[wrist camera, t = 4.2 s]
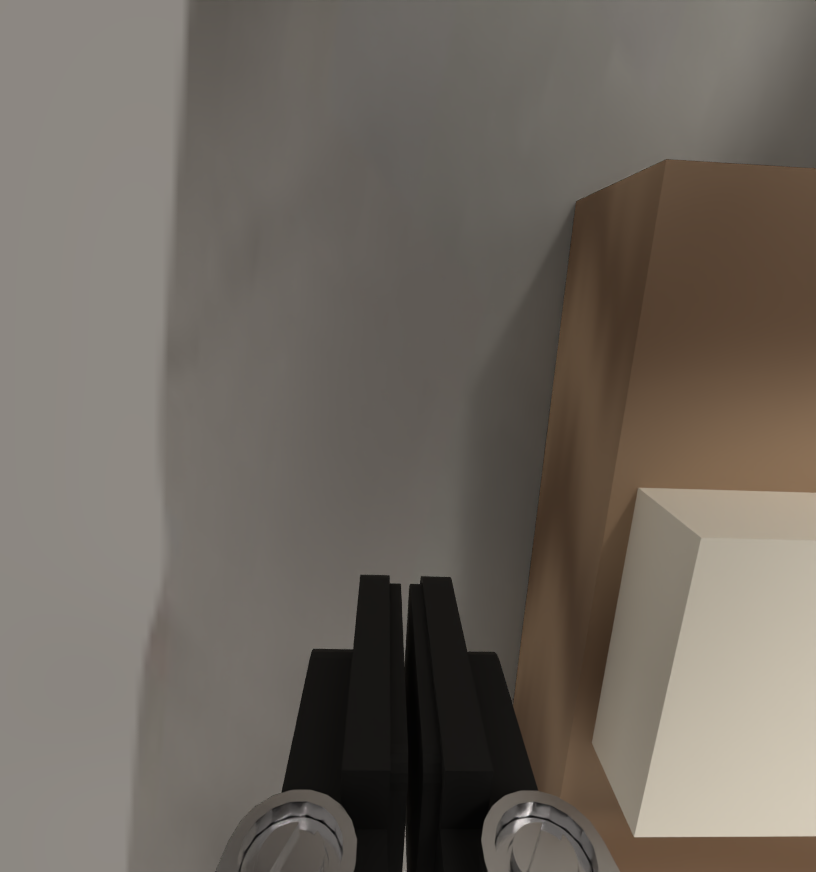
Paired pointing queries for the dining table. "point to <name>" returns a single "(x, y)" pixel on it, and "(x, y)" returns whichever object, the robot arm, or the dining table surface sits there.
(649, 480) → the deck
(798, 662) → the cream square block
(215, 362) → the dining table surface
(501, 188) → the dining table surface
